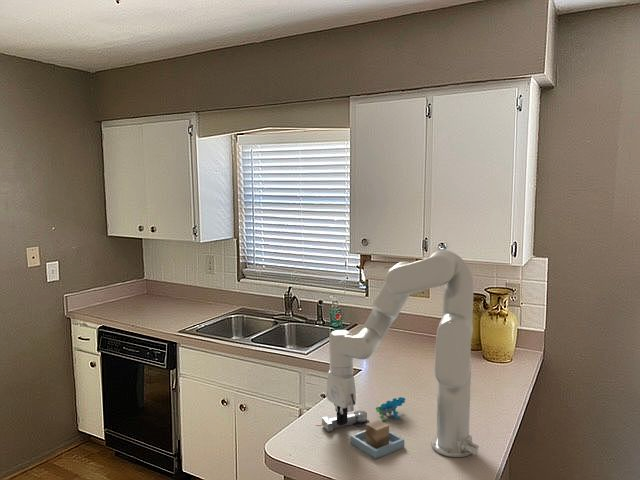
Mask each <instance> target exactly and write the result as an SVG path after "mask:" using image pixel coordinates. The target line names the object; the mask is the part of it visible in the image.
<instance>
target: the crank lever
mask: <svg viewBox="0 0 640 480" xmlns="http://www.w3.org/2000/svg"><path fill="white" fill-rule="evenodd" d="M347 419H348V422H347V424H344V425H341V426H340V425H338V424H337V416H335V417H331V418H328V416H323V417H321V424H322V425H321V426H322V427H324V429H325V430H326V432H332V431H333V430H334V429H335V428H339V427H343V426H344V427H345V426H348V425H353V424H354V423H357V424H365V423H366V422H367V420H368V413H367V412H366V411H365V410H356V411H353V413H351V414H347Z"/></svg>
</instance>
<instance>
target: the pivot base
mask: <svg viewBox="0 0 640 480" xmlns="http://www.w3.org/2000/svg"><path fill="white" fill-rule="evenodd" d="M367 423H370V420H369V419H367V422H366V423H365V424H357V423H354V424H352V426H355V427H361V428H363V427H366V424H367ZM315 425H316V426H323V425H322V423H316V424H315Z"/></svg>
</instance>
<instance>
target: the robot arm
mask: <svg viewBox="0 0 640 480" xmlns="http://www.w3.org/2000/svg"><path fill="white" fill-rule="evenodd" d="M442 286H443V296H442V297H443V298H442V300H443V301H442V313H441V319H440V321H439V324H438V326H437V329H436V336H435V337H436V338H435V352H434V368H433V369H434V371H433V372H434V376H435V379H436V380H437V390H436V391H437V392H436V393H437V395H436V396H437V397H436V403H437V404H436V409H437V410H436V435H435V436H433V437H432V439H431V440H430V441H431V442H430V443H431V448H432V449H433V450H434V451H435V452H436V453H438V454H440V455H442V456H445V457H451V458H463V457H464V458H465V457H467V456H470V455H472V456H476V455H477V453H478V450H479V447H480V445H478V444H476V443H474V442H473V436H472V435H470V419H471V418H470V415H471V413H470V411H471V408H470V407H471V384H472V383H471V382H472V381H471V380H472V357H471V351H472V337H473V334H474V333H473V332H474V325H473V313H474V312H473V311H474V278H473V274H472V272H471V269H470V267H469V265H468V264H467V263H466V261H465V260H464V259H463V258H462V257H461V256H459V254H456V252H453V251H450V250H447V249H441V250H437V251H435V252H433V253H432V254H431V255H430V256H429V257H427V258H424V259H420V260H417V261H414V262H408V261H400V262H398V263H396V264H395V265H393V266H392V267H391V268H390V269H389V270H388V271H387V273H386V276H385V281H384V282H383V284H382V286H381V288H380V289H379V291H378V293H377V294H376V296H375V298H374V300H373V302H372V309H371V312H370V313H369V315H368V317H367V319H366V321H365V322H364V325H363V326H362V328H361V329H360V331H359V332H358V333H356V334H355V335H353V334H352V332H351V331H349V330H346V329H337V330H336V329H335V330H333V331H331V332H330V333H329V337H328V340H329V341H328V343H329V344H328V345H329V347H328V348H329V349H328V350H329V351H328V352H329V354H328V355H329V371H328V373H327V379H326V382H327V383H326V399H327V400H328V401H329V402H331V403H332V404H333V405H334V409H335V410H334V411H335V412H336V417H337V424H338V425H340V427H342V426H341V425H344V424H347V422H348V419H347V415H348V413H351V412H355V407H354V406H355V405H356V402H357V393H356V381H355V376H354V359H357V360H361V361H362V360H363V361H364V360H367V359H370V358H371V357H372V356H373V354H374V353H375V352H376V350H377V349H378V347H379V346H380V344H381V342H382V341H383V340H384V337H385V336H386V334H387V333H388V330H389V329H390V327H391V326H392V324H393V323H394V321H395V320H396V319H397V317H398V315H399V314H400V312H401V311H402V309H403V307H404V306H405V304H406V302H407V301H408V298H409V297H410V295H411V294H414V293H420V292H422V291H426V290H431V289H433V288H434V289H435V288H437V287H442Z"/></svg>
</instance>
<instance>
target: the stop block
mask: <svg viewBox="0 0 640 480" xmlns="http://www.w3.org/2000/svg"><path fill="white" fill-rule="evenodd" d="M365 430H366V443H367V444H369V445H371V446H372V447H374V448H376V449H378V448H380V447H383V446H385V445H387V444H389V431H390V425H389V424H387V423H385V422H384V421H382V420H380V419H375V420H373V421H369V423H367V424H366V426H365Z"/></svg>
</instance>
